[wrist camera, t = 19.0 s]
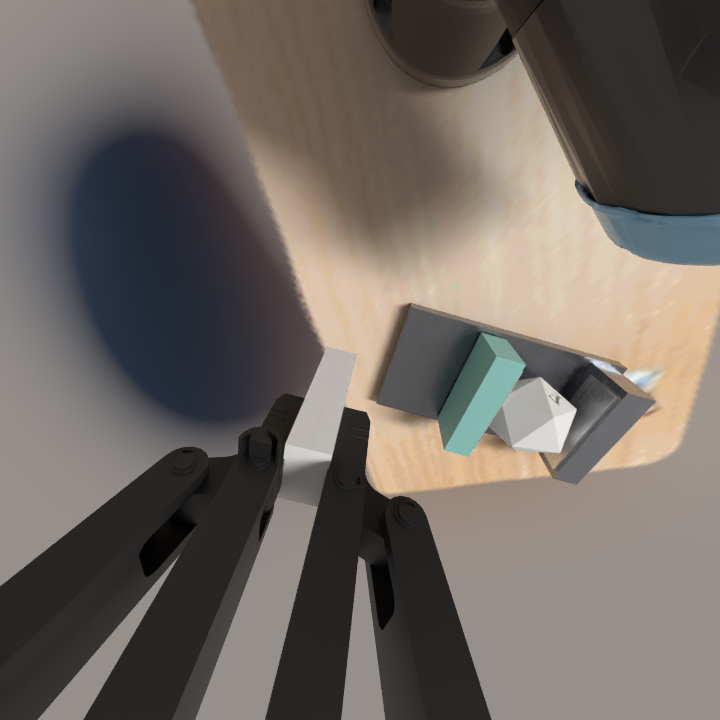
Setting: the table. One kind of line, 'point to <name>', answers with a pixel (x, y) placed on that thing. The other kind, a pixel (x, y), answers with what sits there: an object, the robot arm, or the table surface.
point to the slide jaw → (479, 393)
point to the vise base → (543, 359)
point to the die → (534, 417)
